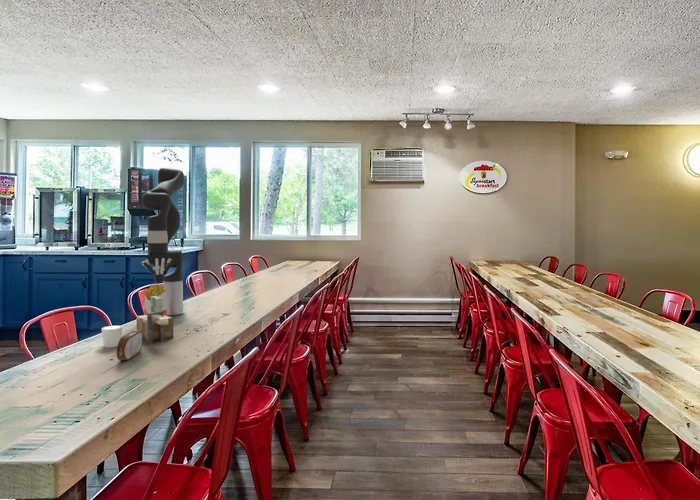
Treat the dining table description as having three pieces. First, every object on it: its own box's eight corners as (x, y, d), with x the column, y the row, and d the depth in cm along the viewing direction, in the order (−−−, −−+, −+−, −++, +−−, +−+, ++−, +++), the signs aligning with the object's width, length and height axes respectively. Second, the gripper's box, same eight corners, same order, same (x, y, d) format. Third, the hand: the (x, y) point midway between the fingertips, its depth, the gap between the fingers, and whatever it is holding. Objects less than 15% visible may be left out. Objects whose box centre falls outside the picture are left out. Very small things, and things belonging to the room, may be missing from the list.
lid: (136, 319, 166) (136, 297, 166) (158, 315, 173) (158, 294, 172) (148, 324, 158) (147, 301, 158) (171, 320, 165) (170, 298, 164)
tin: (135, 350, 148) (135, 327, 148) (144, 349, 149) (144, 327, 148) (115, 364, 133) (115, 339, 133) (125, 364, 134) (124, 339, 133)
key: (151, 320, 157) (150, 315, 157) (157, 319, 159) (157, 314, 159) (161, 325, 151) (161, 319, 150) (168, 324, 152) (168, 318, 152)
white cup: (126, 343, 156) (126, 326, 155) (110, 348, 149) (110, 330, 149) (113, 341, 158) (113, 324, 157) (97, 346, 151) (96, 328, 151)
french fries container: (158, 325, 184) (157, 286, 183) (143, 321, 190) (143, 284, 188) (167, 322, 188) (166, 285, 187) (152, 319, 194) (152, 283, 192)
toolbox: (133, 336, 166) (132, 307, 165) (158, 331, 173) (158, 304, 173) (149, 344, 155) (148, 313, 154) (175, 338, 163) (175, 309, 162)
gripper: (143, 242, 157) (144, 286, 158) (177, 241, 166) (178, 282, 168) (137, 241, 162) (138, 283, 164) (170, 240, 171) (171, 280, 173)
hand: (158, 283), depth 166 cm, fingers closed
